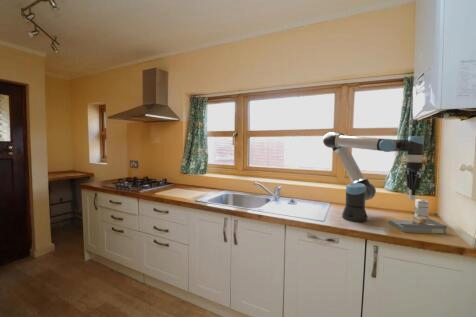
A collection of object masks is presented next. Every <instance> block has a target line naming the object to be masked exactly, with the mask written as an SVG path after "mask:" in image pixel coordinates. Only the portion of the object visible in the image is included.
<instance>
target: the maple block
mask: <svg viewBox="0 0 476 317" xmlns="http://www.w3.org/2000/svg"><path fill="white" fill-rule="evenodd" d="M412 220H413V222H412V224H418V225H428V219H427V218H424V217H422V216H415V215H414V216H412Z"/></svg>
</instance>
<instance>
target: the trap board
mask: <svg viewBox="0 0 476 317" xmlns="http://www.w3.org/2000/svg"><path fill="white" fill-rule="evenodd" d="M427 219H428V225H418V224H412V222H413V219H388V224H389V225H391V226H392V227H394V228H396V229H397V230H400V232H403V233H416V234H417V233H418V234H419V233H420V234H421V233H422V234H423V233H424V234H425V233H427V234H446V233H447V225H445V224H443V223H441V222H438V221H437V220H434V219H431V218H429V217H428V218H427Z"/></svg>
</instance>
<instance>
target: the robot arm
mask: <svg viewBox="0 0 476 317" xmlns="http://www.w3.org/2000/svg"><path fill="white" fill-rule="evenodd" d="M424 139H425V138H424V136H421V135H417V136H416V135H412V136H411V135H410V136H408V138H407V139H392V138H391V139H390V138H377V137H366V136H365V137H364V136H350V135H346V134H345V133H343V132H334V131H332V132H331V131H330V132H327V133H326V134H324V136H323V138H322V143H323V144H324V146H326V148H331V149H332V151H333V153H335V154H337V157H338V158H339V160H340V162H341V164H342V165H343V167H344V169H345V172H346V173H347V175H348V178H349V179H350V181H351V182H350V183H348V184H346V187H345V206H344V208H343V211H342V215H341V217H342V218H343V219H344V220H346V221H351V222H356V223H364V222H365V223H366V222H368V217H369V216H368V214H367V212H366V201H368V200H372V199H373V198H374V197H375V196H376V193H377V190H376V187H375V185H374V184H372V183H371V182H370V180H369V179H368V178H366V177H365V176H364V175H363V173H362V171H361V169H360V168H359V166H358V164H357V162H356V160H355V158H354V156H353V154H352V152H351V150H350V148H352V149H362V150H371V151H372V150H373V151H380V152H385V153H391V152H393V153H394V152H403V153H404V152H406V169H407V171H405V179H406V188H408V190H409V191H408V200H409V201H415V199H416V194H417V192H416V191H419V189H420V185H421V181H422V178H423V176H424V175H423V174H421V170H420V169H423V159H424V156H423V155H424V147H425V146H424V145H425V142H424V141H425V140H424Z"/></svg>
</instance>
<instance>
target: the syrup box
mask: <svg viewBox="0 0 476 317" xmlns="http://www.w3.org/2000/svg"><path fill="white" fill-rule="evenodd" d="M414 204H415V205H414V216H422V217H424V218H429V212H430V211H429V206H430V205H429V204H430V201H428V200H427V199H421V198H420V199H419V198H415V200H414Z"/></svg>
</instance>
